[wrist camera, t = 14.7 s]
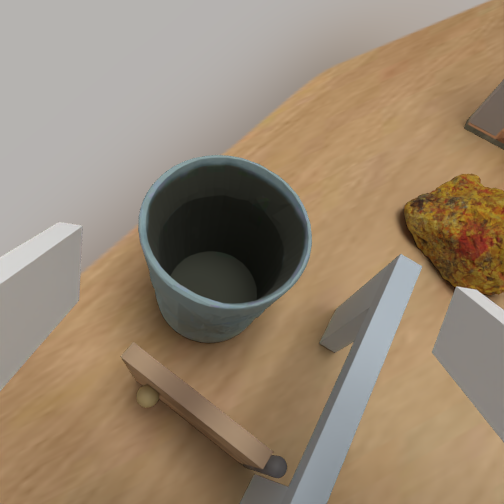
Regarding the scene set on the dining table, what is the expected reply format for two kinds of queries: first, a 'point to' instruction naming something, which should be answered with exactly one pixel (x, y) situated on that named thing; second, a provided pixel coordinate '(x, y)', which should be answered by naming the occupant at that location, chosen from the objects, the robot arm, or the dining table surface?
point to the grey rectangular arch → (346, 384)
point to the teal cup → (221, 244)
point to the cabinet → (489, 118)
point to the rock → (462, 232)
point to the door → (199, 412)
